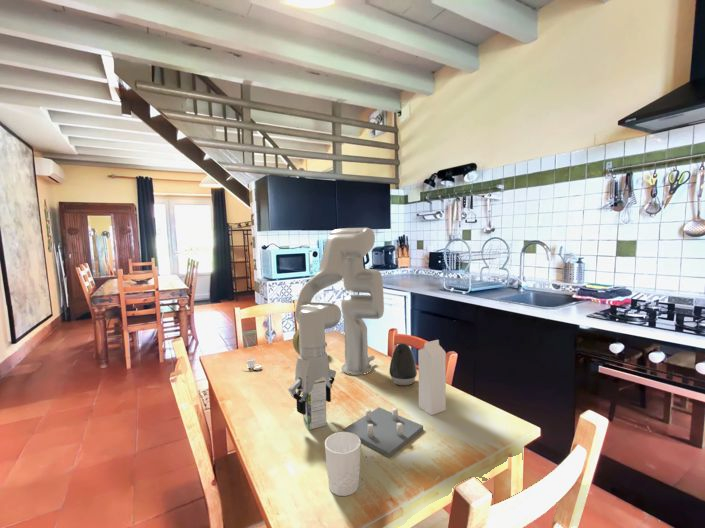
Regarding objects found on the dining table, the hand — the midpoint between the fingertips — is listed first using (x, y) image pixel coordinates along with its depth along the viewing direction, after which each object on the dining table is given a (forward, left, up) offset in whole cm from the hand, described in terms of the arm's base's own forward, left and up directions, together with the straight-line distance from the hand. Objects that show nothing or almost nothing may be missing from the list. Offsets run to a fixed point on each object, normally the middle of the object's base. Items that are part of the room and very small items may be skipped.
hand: (314, 406), depth 98 cm
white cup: (+12, +24, -5) cm, 27 cm away
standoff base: (-10, +18, -5) cm, 21 cm away
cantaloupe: (-36, -47, -5) cm, 59 cm away
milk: (-30, +22, -5) cm, 38 cm away
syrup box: (0, 0, -5) cm, 5 cm away
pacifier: (-8, -52, -6) cm, 53 cm away
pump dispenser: (-40, +4, -5) cm, 41 cm away
